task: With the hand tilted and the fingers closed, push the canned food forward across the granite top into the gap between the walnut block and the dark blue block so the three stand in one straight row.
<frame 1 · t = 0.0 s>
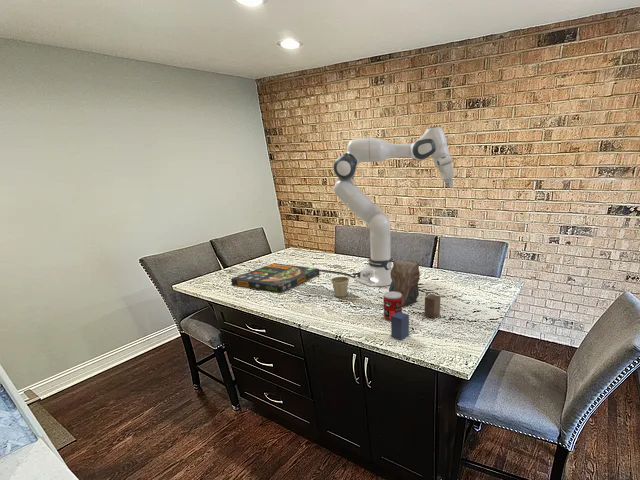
hand: (449, 187, 177), 52 cm above the worktop, tool tilted 20°, fingers open, 8 cm apart
blue block: (400, 335, 134), on the worktop
pizza box: (277, 279, 201), on the worktop
flower pot: (341, 295, 176), on the worktop
owl: (402, 302, 166), on the worktop
walnut block: (432, 315, 151), on the worktop
canned food: (392, 317, 150), on the worktop
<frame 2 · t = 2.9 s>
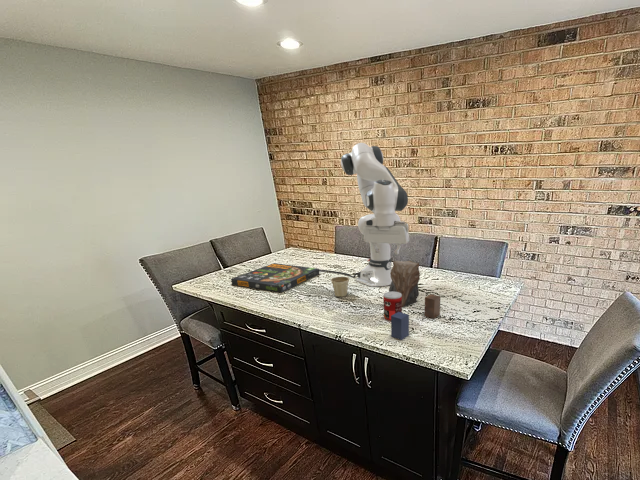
hand: (386, 253, 146), 27 cm above the worktop, tool pointing down, fingers open, 8 cm apart
nothing on the worktop moved.
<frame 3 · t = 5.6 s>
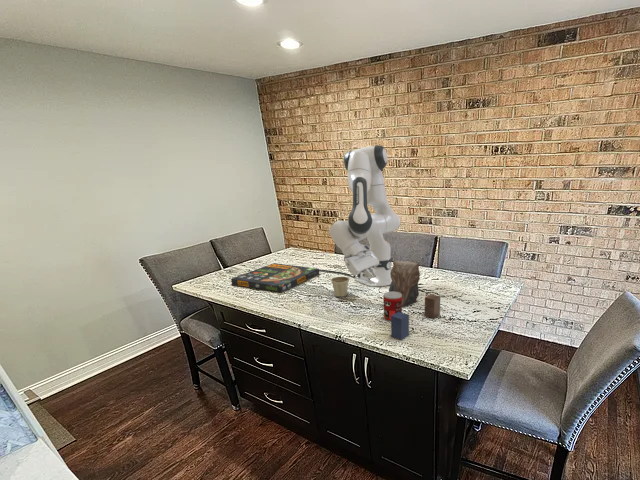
hand: (373, 277, 150), 16 cm above the worktop, tool tilted 45°, fingers closed
nothing on the worktop moved.
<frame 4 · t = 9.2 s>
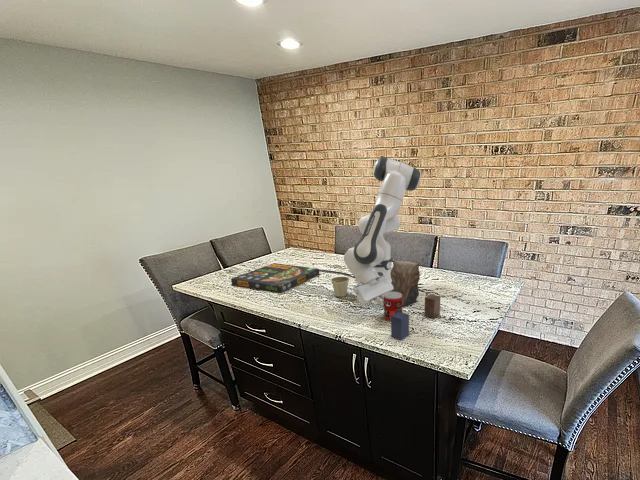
hand: (384, 305, 150), 5 cm above the worktop, tool tilted 45°, fingers closed, pressing on canned food
canned food: (393, 317, 150), on the worktop, touching gripper
everything else where it was.
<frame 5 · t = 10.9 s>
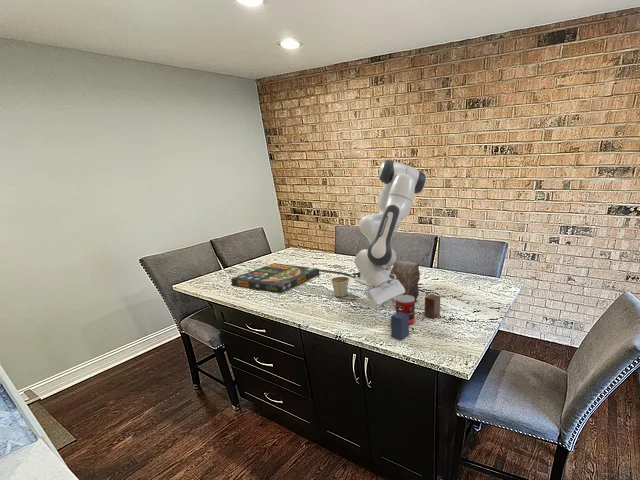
hand: (396, 308, 146), 5 cm above the worktop, tool tilted 45°, fingers closed, pressing on canned food
canned food: (405, 322, 146), on the worktop, touching gripper
everything else where it was.
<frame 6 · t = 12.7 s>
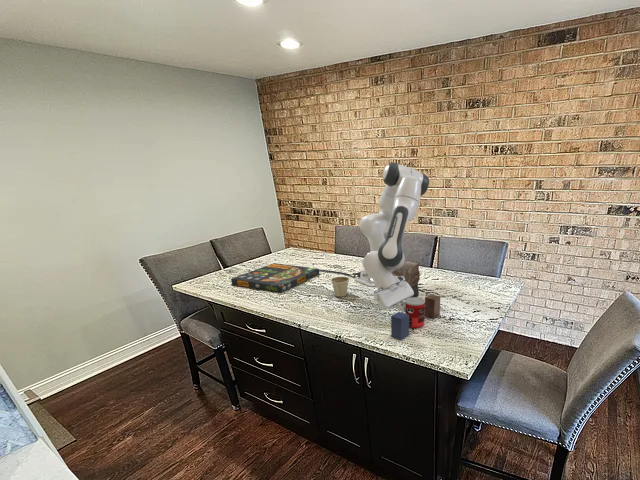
hand: (405, 311, 144), 5 cm above the worktop, tool tilted 45°, fingers closed
canned food: (414, 324, 143), on the worktop
everything else where it was.
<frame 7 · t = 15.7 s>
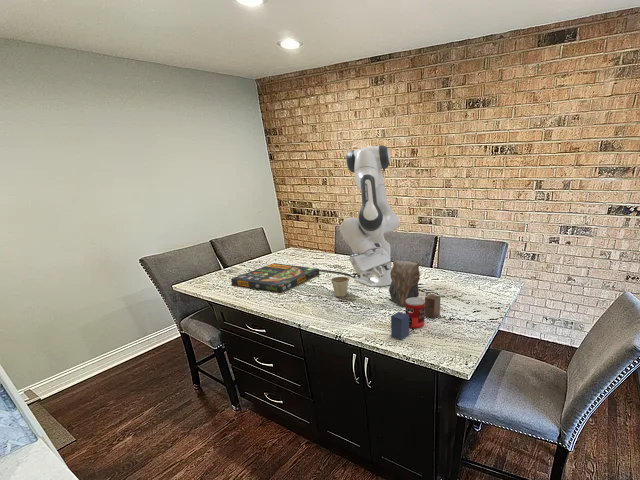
hand: (381, 276, 147), 18 cm above the worktop, tool tilted 45°, fingers closed
nothing on the worktop moved.
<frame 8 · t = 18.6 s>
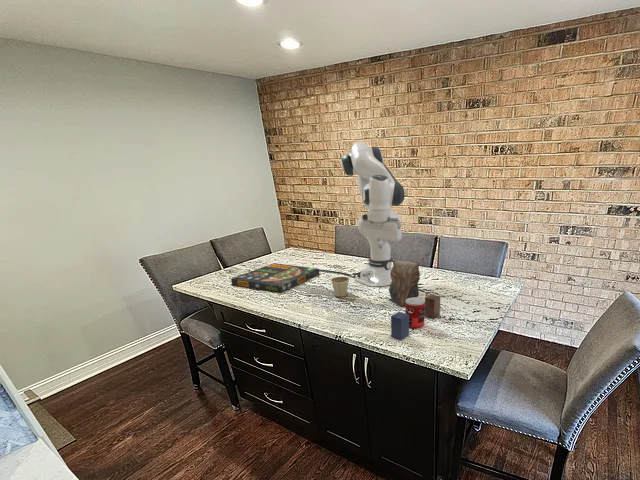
hand: (381, 248, 147), 29 cm above the worktop, tool pointing down, fingers closed
nothing on the worktop moved.
at the end: canned food 1.1 cm from the target spot, on the worktop; canned food tilted 0°; owl moved 0.2 cm from its start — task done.
